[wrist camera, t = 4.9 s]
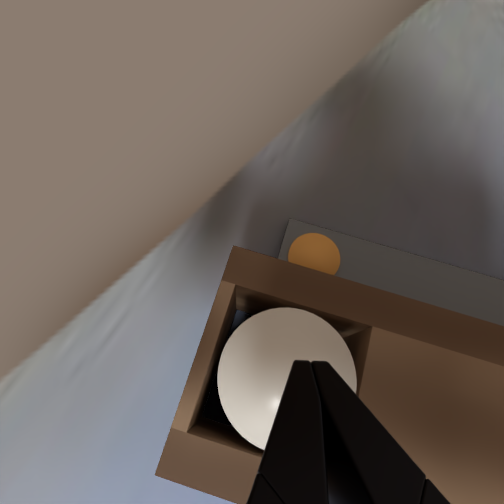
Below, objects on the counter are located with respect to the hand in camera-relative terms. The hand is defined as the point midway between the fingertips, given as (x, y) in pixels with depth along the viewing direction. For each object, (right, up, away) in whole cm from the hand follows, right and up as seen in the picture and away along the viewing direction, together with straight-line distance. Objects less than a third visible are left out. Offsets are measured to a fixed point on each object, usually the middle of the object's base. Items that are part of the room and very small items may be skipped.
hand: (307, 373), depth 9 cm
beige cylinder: (0, -3, +10) cm, 11 cm away
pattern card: (+8, +1, +13) cm, 15 cm away
